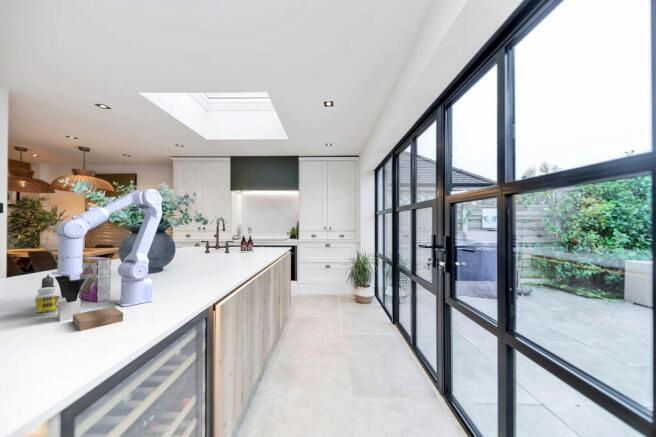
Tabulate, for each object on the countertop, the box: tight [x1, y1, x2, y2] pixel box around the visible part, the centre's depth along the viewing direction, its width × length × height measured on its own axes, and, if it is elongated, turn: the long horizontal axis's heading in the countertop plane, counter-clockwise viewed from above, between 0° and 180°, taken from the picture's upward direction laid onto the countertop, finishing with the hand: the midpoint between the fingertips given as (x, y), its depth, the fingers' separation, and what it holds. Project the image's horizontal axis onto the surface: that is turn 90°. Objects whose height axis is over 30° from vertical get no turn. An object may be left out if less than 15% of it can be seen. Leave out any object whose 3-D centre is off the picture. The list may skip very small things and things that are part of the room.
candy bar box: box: [78, 256, 112, 303], centre depth 104 cm, size 11×5×16 cm, turn 71°
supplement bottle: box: [34, 286, 58, 317], centre depth 88 cm, size 5×5×8 cm
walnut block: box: [72, 306, 124, 332], centre depth 82 cm, size 10×10×3 cm
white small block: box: [57, 296, 82, 323], centre depth 85 cm, size 5×5×6 cm
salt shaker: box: [34, 274, 60, 309], centre depth 94 cm, size 6×6×12 cm
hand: (69, 299), depth 85 cm, fingers open, 7 cm apart
